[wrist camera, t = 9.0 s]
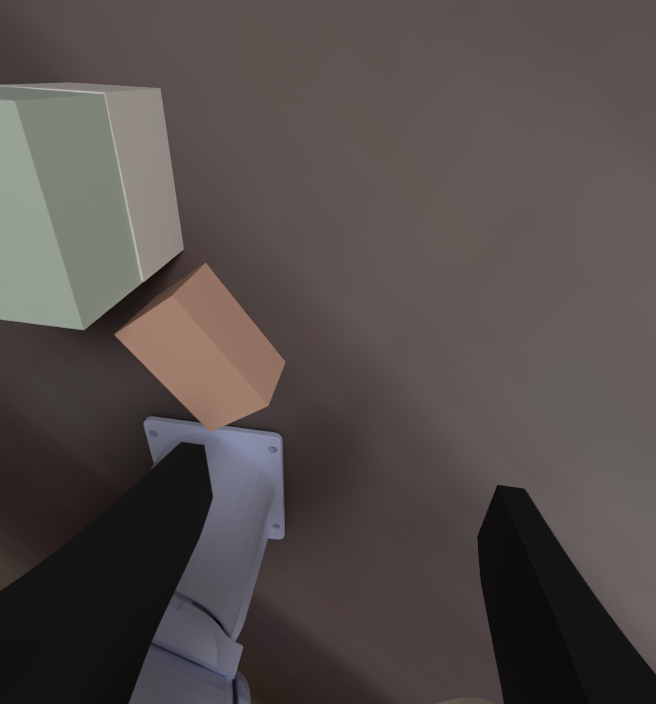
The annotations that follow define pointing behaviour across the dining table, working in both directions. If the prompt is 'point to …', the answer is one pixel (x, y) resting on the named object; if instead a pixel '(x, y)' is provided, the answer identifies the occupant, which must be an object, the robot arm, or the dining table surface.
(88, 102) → the sage brick
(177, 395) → the terracotta brick
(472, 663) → the dining table surface
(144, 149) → the cream brick
